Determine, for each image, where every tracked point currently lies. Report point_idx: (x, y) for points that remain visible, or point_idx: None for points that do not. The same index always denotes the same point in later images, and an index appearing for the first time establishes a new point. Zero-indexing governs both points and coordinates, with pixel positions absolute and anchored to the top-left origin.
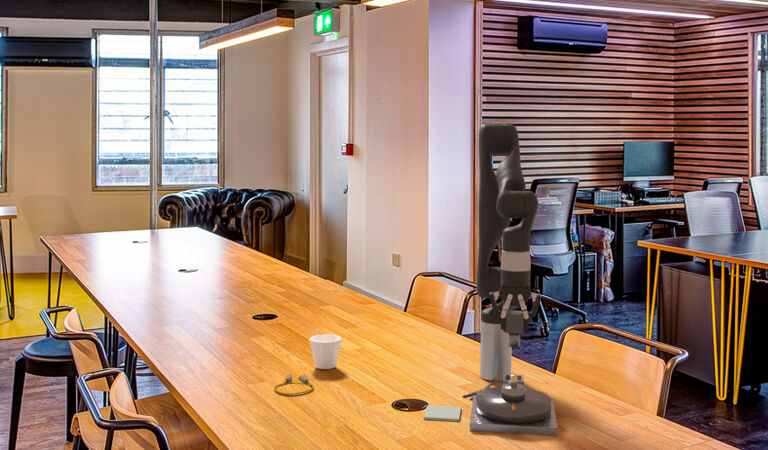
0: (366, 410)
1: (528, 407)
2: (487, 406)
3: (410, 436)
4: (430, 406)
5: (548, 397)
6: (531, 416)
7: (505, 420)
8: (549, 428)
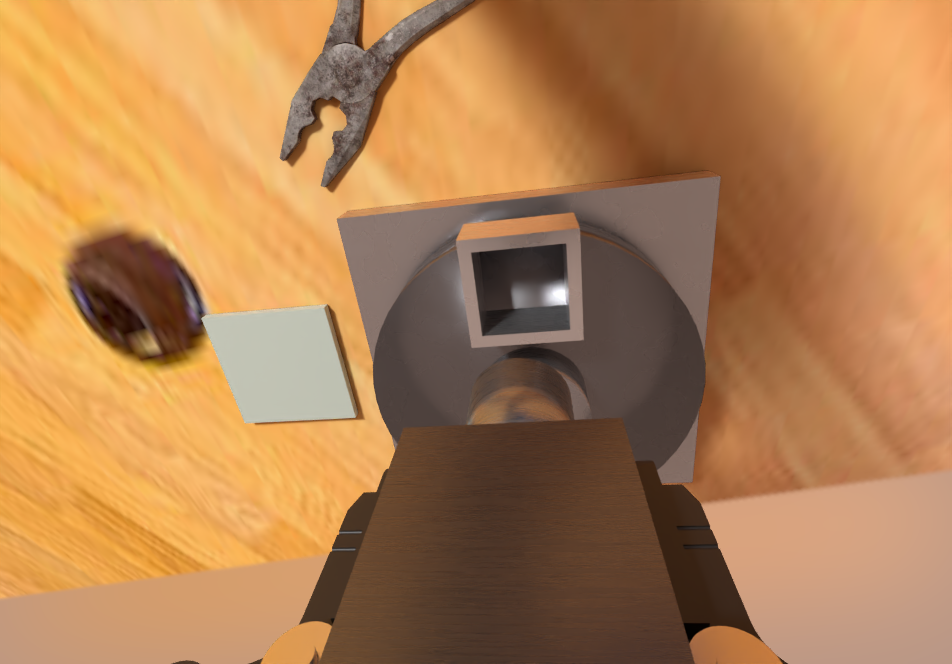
0: (52, 386)
1: None
2: None
3: (273, 526)
4: (219, 330)
5: (696, 353)
6: None
7: None
8: (663, 481)
